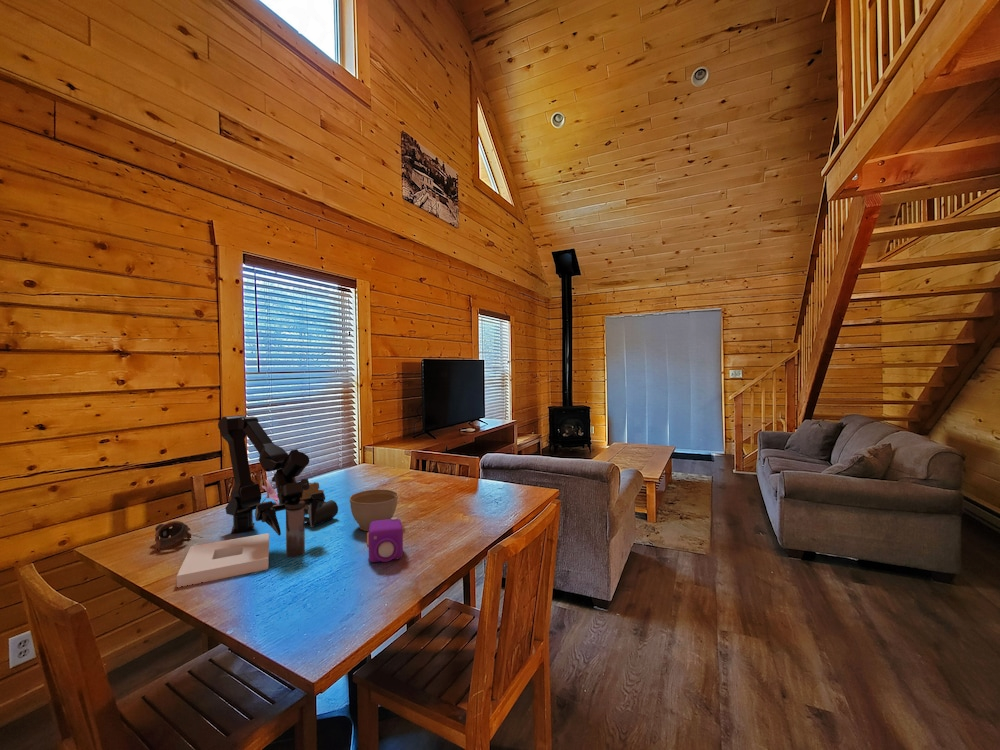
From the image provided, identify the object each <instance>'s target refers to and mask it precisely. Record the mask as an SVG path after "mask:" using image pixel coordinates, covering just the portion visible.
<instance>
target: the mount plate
mask: <svg viewBox="0 0 1000 750" xmlns="http://www.w3.org/2000/svg"><path fill="white" fill-rule="evenodd" d="M269 558H270V533H269V532H268V533H267V532H266V533H261V534H256V535H249V536H243V537H237V538H233V539H226V540H219V541H215V542H214V541H213V542H209V543H202V544H196V545H191V546H190V547H189V550H188V551H187V554H186V556H185V558H184V559H183V562H182V564H181V566H180V569H179V571H178V572H177V574H176V588H177V587H178V588H182V587H181V586H183V587H187V585H188V586H192V584H193V585H196V584H197V585H198V584H202V583H201V582H203V583H206V582H211V581H216V580H221V579H226V578H231V577H235V576H241V575H246V574H249V573H251V574H252V573H254V572H255V573H256V572H259V571H260V572H261V571H265V570H269V564H270V563H269V561H270V559H269Z"/></svg>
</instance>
